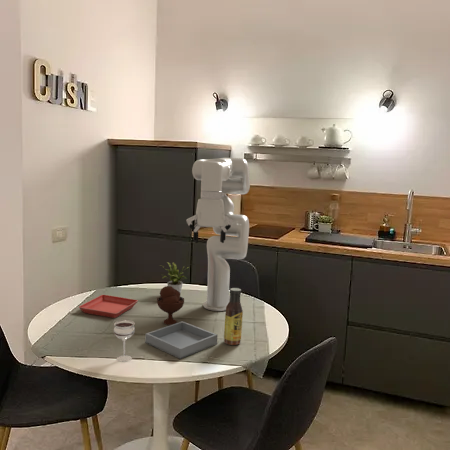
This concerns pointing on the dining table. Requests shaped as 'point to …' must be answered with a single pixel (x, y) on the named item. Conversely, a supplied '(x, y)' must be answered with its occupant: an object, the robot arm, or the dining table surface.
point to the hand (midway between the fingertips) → (209, 242)
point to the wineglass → (124, 335)
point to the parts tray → (181, 339)
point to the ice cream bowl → (170, 303)
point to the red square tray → (108, 306)
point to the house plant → (174, 277)
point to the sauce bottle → (233, 318)
